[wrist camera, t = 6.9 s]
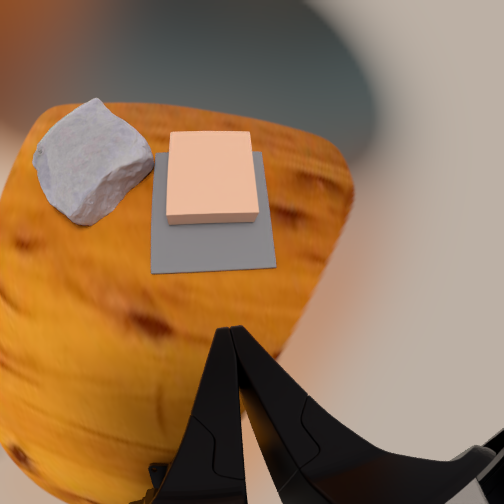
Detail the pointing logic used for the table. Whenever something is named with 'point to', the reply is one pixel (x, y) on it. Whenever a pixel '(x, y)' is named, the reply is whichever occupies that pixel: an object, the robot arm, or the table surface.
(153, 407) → the table surface
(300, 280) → the table surface
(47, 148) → the stone block
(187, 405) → the table surface
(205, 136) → the tile
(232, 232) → the mat
